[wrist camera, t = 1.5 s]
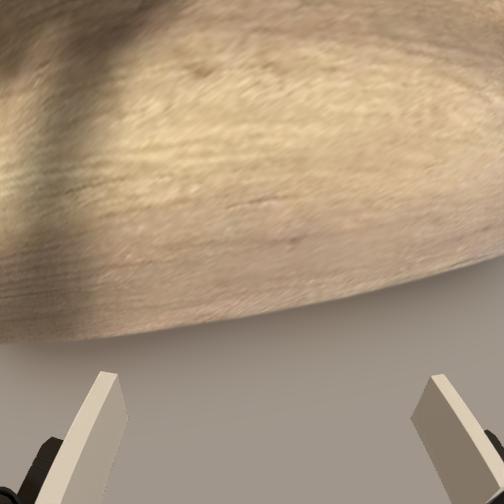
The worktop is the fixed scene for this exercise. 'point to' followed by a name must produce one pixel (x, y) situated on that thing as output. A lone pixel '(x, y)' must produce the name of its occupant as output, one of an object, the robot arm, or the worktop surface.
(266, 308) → the worktop surface
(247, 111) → the worktop surface
